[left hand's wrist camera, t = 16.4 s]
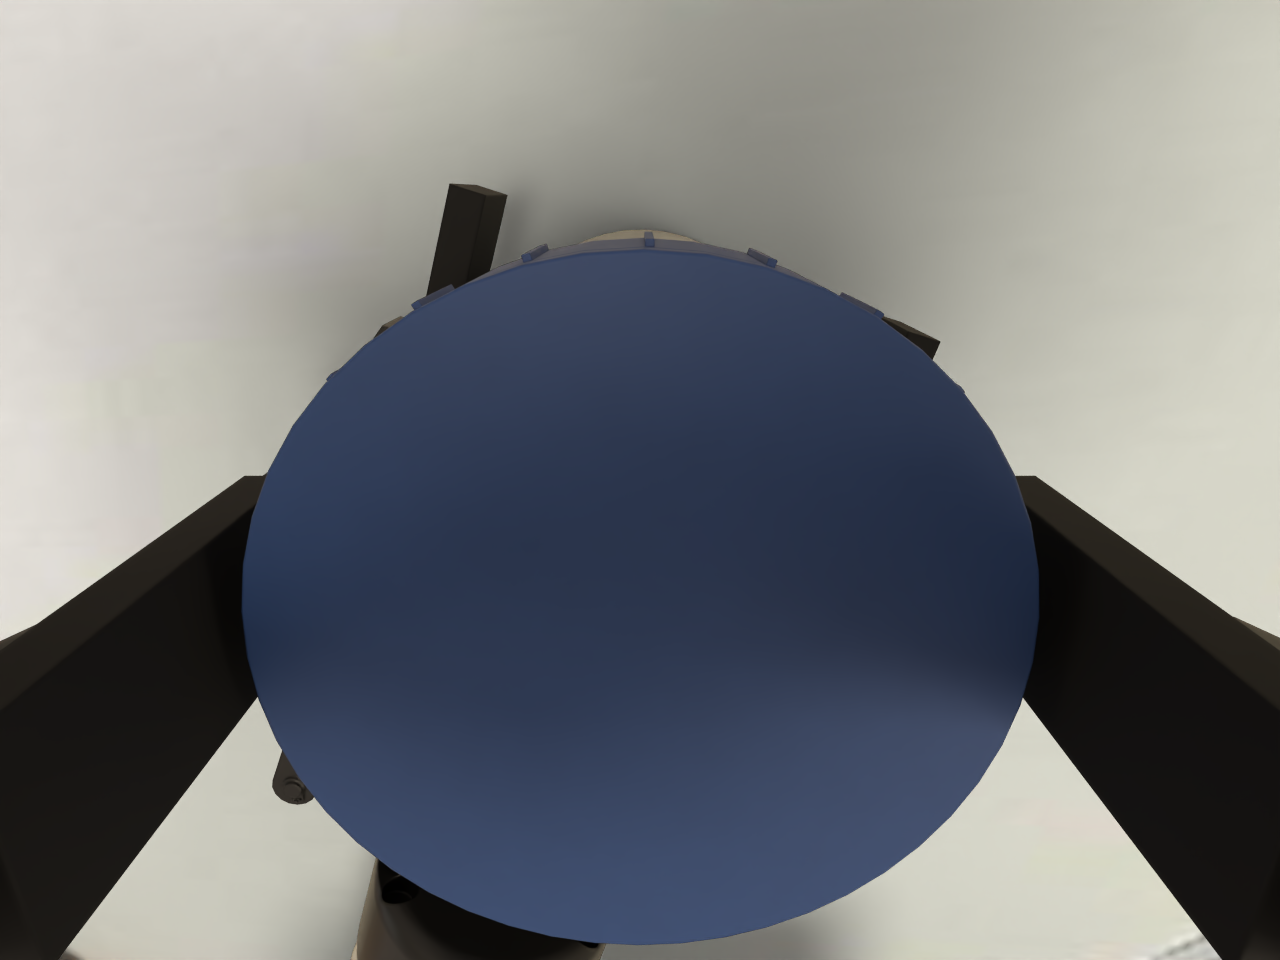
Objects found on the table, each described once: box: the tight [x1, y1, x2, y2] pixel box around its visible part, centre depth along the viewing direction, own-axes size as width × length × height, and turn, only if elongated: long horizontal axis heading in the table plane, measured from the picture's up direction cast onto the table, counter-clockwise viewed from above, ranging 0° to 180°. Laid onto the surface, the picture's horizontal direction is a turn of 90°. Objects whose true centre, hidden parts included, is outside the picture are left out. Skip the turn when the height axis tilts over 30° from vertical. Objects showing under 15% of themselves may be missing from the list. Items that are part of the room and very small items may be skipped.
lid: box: [241, 232, 1039, 945], centre depth 11 cm, size 10×10×2 cm
